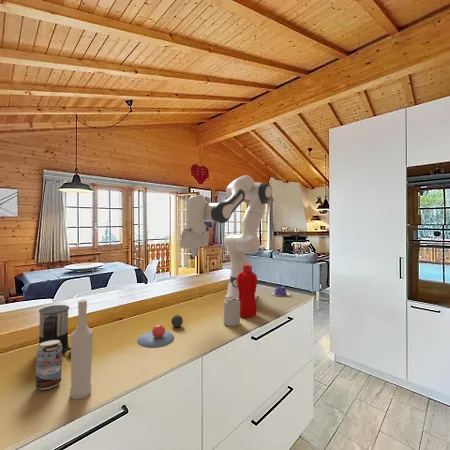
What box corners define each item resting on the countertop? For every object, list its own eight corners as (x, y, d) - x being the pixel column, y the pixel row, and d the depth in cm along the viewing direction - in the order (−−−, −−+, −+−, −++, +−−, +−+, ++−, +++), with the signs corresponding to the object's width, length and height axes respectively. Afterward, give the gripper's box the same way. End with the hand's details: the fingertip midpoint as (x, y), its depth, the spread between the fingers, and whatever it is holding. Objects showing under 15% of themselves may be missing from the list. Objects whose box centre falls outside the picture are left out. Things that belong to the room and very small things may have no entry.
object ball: (150, 324, 106) (148, 337, 105) (160, 327, 103) (158, 340, 103) (158, 322, 110) (157, 335, 109) (168, 324, 108) (166, 337, 107)
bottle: (66, 395, 71) (67, 301, 70) (85, 385, 75) (86, 296, 75) (76, 402, 68) (77, 305, 68) (95, 392, 72) (97, 300, 72)
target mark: (154, 328, 115) (154, 328, 115) (181, 336, 108) (181, 335, 108) (129, 341, 102) (129, 341, 102) (157, 350, 96) (157, 350, 96)
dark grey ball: (168, 318, 116) (169, 328, 117) (177, 320, 114) (178, 330, 115) (175, 312, 120) (177, 321, 121) (184, 313, 118) (185, 324, 119)
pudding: (293, 296, 170) (293, 288, 170) (276, 298, 166) (277, 289, 166) (283, 291, 182) (283, 284, 181) (267, 293, 178) (268, 285, 178)
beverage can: (35, 396, 70) (35, 351, 70) (35, 382, 76) (35, 340, 76) (63, 388, 74) (63, 345, 74) (60, 375, 80) (61, 335, 80)
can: (238, 328, 118) (239, 301, 118) (221, 326, 119) (222, 299, 119) (240, 321, 125) (241, 296, 125) (225, 320, 127) (225, 295, 127)
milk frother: (36, 349, 95) (37, 307, 94) (85, 337, 105) (86, 299, 105) (40, 366, 84) (41, 319, 84) (95, 352, 94) (96, 310, 94)
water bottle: (247, 320, 127) (249, 268, 126) (233, 313, 136) (234, 264, 135) (261, 317, 132) (263, 266, 132) (247, 310, 141) (248, 263, 141)
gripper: (188, 228, 120) (187, 259, 121) (211, 228, 138) (210, 254, 139) (177, 228, 123) (176, 258, 123) (200, 227, 141) (200, 253, 142)
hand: (194, 256), depth 131 cm, fingers closed
